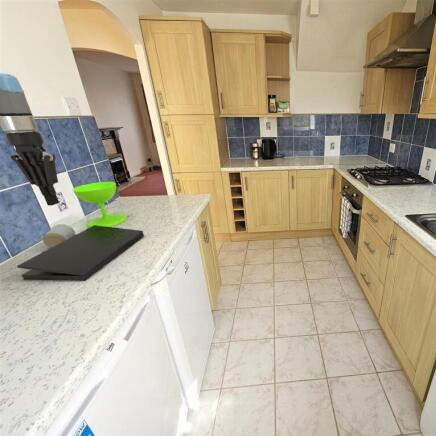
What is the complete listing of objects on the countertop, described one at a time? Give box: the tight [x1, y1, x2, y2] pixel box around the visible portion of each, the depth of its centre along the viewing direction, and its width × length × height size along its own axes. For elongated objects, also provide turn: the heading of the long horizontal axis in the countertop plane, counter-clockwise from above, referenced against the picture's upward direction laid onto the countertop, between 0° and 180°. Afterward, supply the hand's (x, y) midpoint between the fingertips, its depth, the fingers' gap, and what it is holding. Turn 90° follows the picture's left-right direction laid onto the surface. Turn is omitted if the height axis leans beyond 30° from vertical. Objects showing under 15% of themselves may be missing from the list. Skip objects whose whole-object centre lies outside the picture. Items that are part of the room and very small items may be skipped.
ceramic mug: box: [42, 223, 78, 249], centre depth 97 cm, size 11×8×8 cm
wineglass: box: [72, 181, 127, 229], centre depth 115 cm, size 16×16×18 cm
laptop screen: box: [16, 225, 144, 276], centre depth 89 cm, size 21×30×1 cm
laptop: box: [21, 232, 145, 282], centre depth 90 cm, size 21×30×2 cm
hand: (53, 204), depth 83 cm, fingers closed
